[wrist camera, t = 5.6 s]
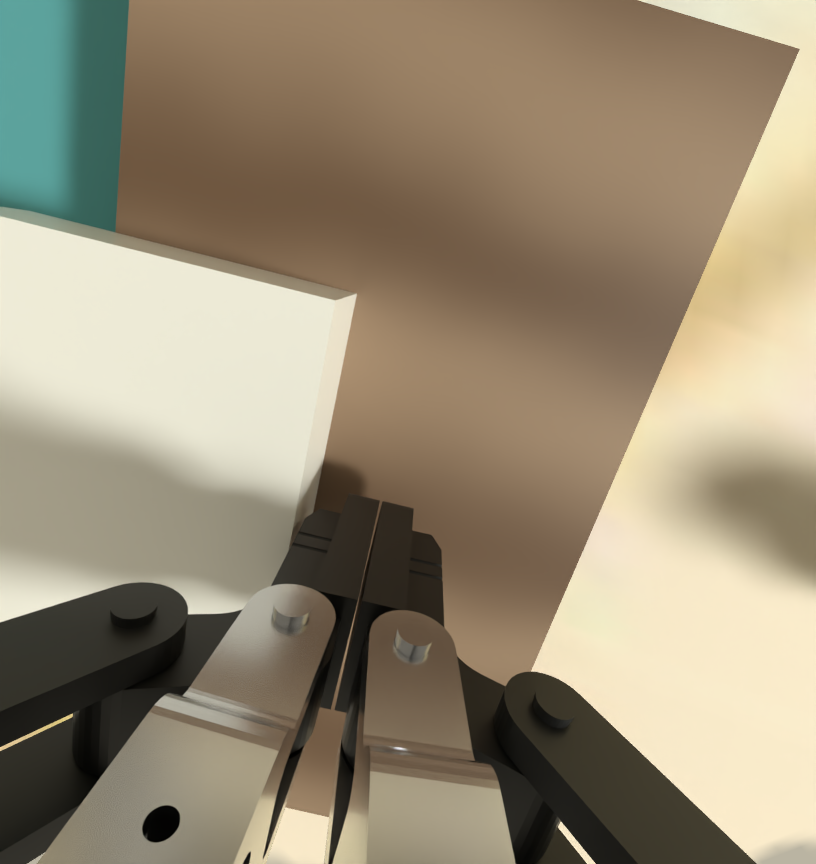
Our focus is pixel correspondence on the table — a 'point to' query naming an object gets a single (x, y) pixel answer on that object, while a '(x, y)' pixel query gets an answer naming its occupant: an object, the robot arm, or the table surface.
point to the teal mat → (62, 107)
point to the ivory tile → (155, 415)
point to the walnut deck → (458, 247)
